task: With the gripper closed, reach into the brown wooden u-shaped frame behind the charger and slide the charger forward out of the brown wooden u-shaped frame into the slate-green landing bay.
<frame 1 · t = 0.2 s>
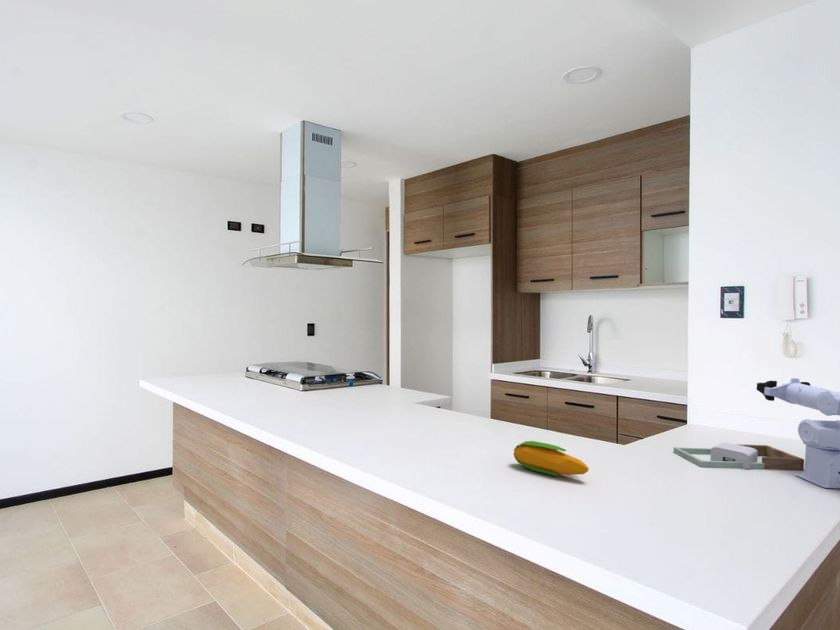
hand: (770, 386, 147), 21 cm above the countertop, tool horizontal, fingers open, 7 cm apart
charger: (736, 462, 144), on the countertop, touching landing bay
corn: (550, 474, 126), on the countertop
brown wooden u-shaped frame: (765, 461, 144), on the countertop
landing bay: (717, 460, 143), on the countertop
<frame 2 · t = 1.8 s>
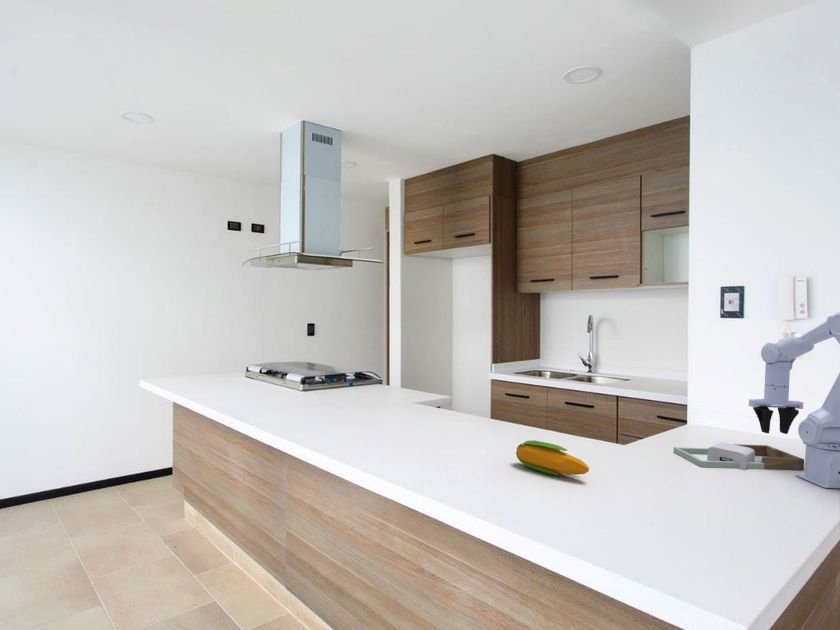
hand: (774, 432, 144), 8 cm above the countertop, tool pointing down, fingers open, 5 cm apart
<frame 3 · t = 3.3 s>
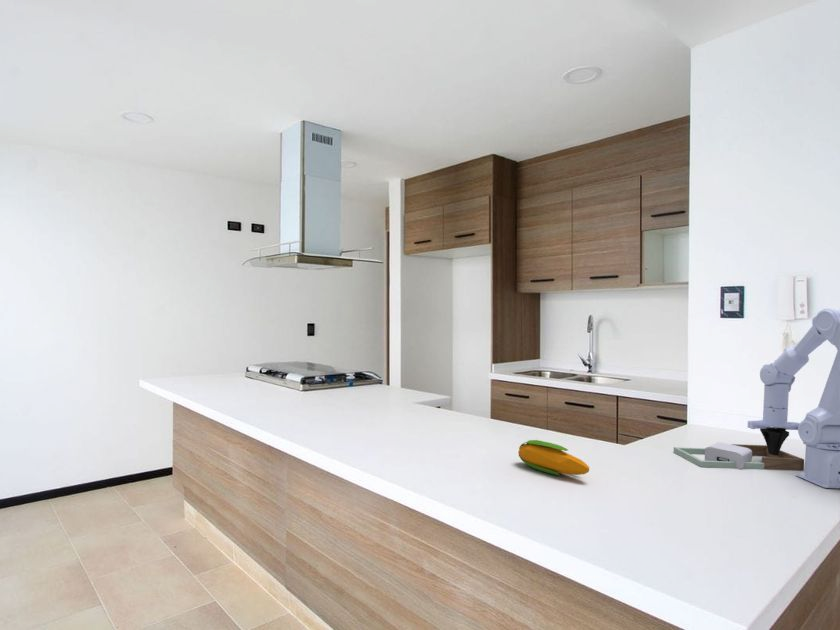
hand: (773, 454, 144), 2 cm above the countertop, tool pointing down, fingers closed
charger: (731, 462, 144), on the countertop
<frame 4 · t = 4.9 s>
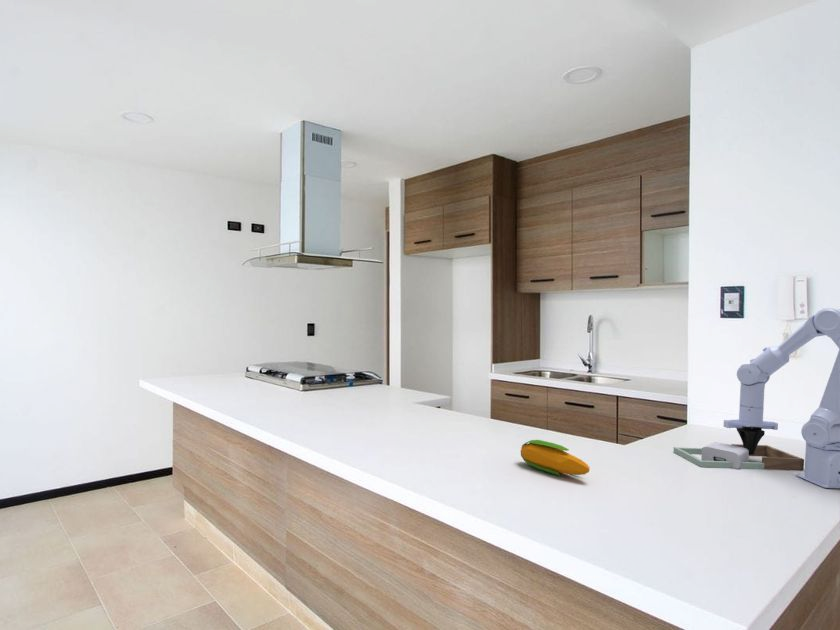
hand: (749, 453, 143), 2 cm above the countertop, tool pointing down, fingers closed
charger: (728, 462, 144), on the countertop, touching gripper, landing bay
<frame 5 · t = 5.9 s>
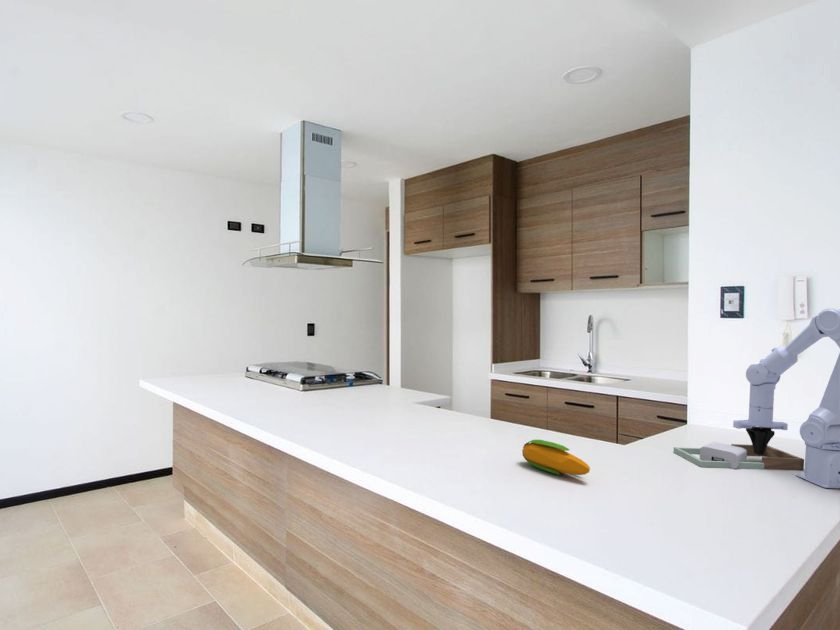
hand: (758, 454, 144), 2 cm above the countertop, tool pointing down, fingers closed
charger: (726, 462, 144), on the countertop
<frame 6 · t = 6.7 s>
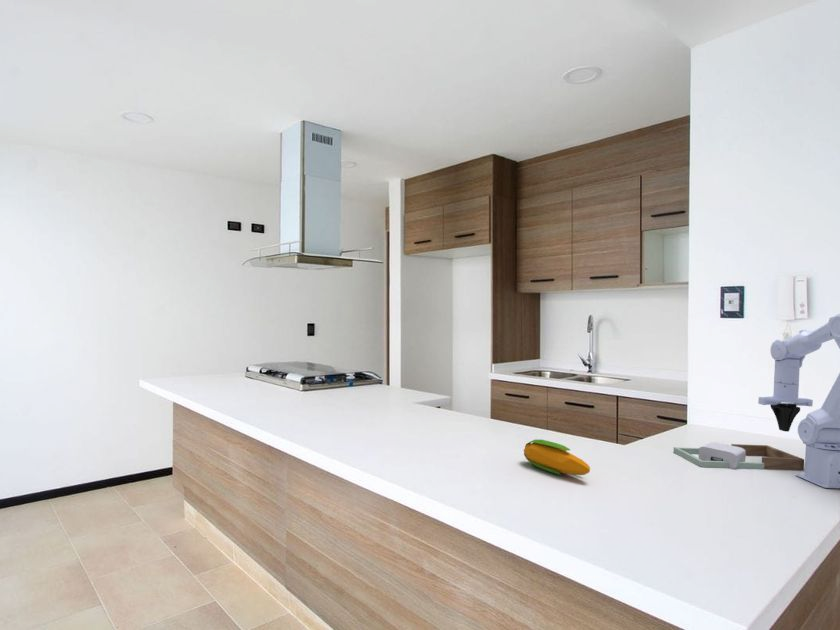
hand: (784, 430, 143), 9 cm above the countertop, tool pointing down, fingers closed
charger: (725, 462, 144), on the countertop, touching landing bay
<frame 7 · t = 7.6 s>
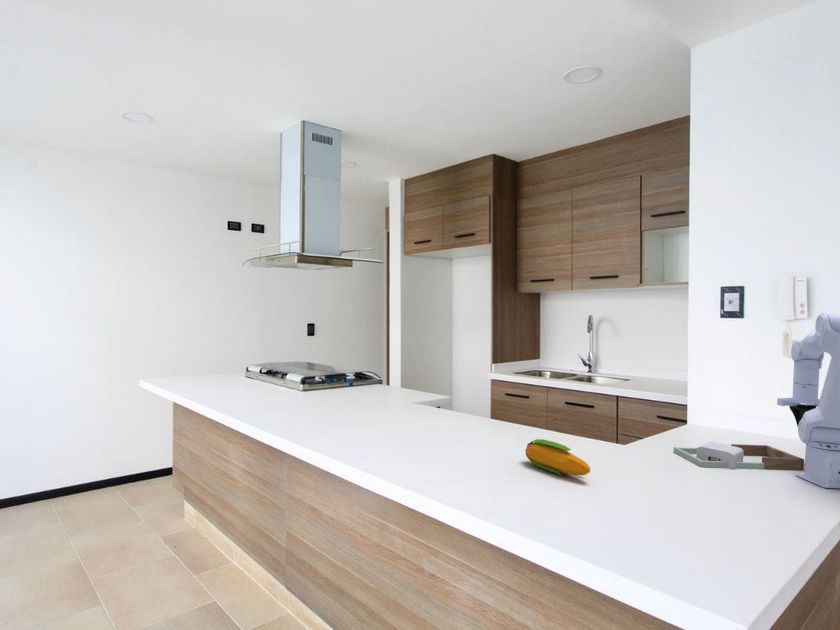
hand: (803, 431, 142), 9 cm above the countertop, tool pointing down, fingers closed
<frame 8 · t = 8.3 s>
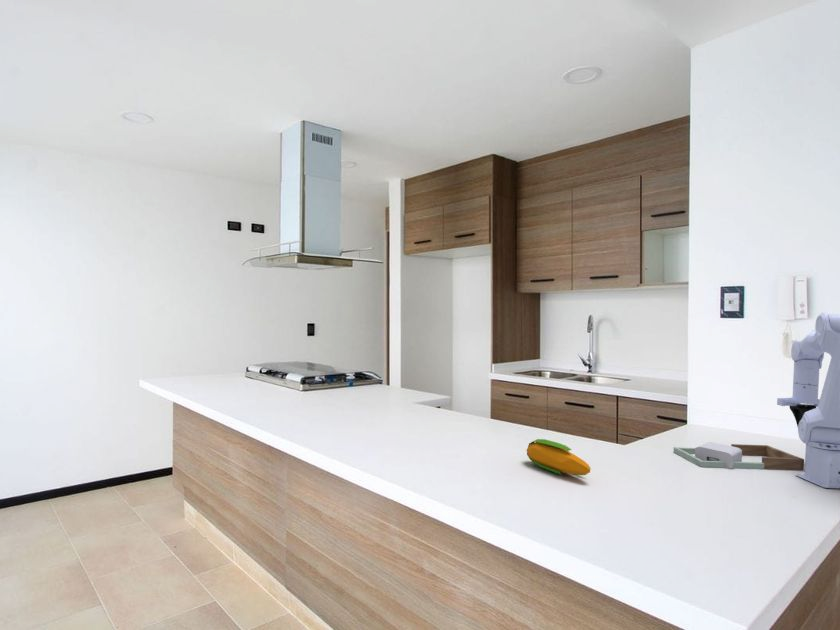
hand: (803, 431, 142), 9 cm above the countertop, tool pointing down, fingers closed
charger: (721, 462, 144), on the countertop
at the end: charger inside the target area (1.6 cm from its centre), on the countertop; charger moved 5.0 cm from its start; charger tilted 1° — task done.
